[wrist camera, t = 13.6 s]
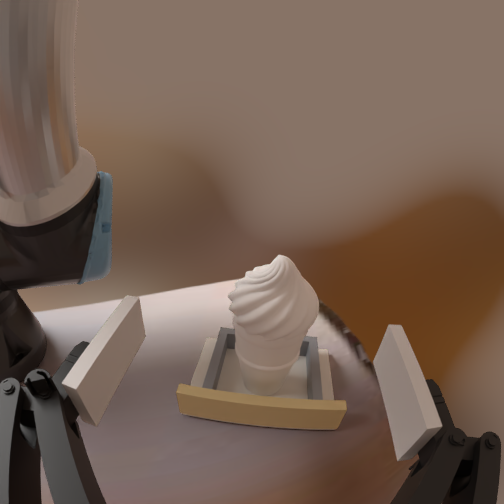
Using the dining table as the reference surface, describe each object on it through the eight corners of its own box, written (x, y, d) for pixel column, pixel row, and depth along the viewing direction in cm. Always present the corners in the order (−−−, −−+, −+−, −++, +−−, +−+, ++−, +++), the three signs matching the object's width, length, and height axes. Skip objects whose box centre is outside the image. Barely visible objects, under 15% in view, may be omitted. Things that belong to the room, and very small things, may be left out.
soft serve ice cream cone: (218, 362, 34) (220, 236, 27) (283, 352, 36) (302, 232, 30) (236, 417, 26) (245, 280, 20) (311, 400, 29) (348, 270, 22)
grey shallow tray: (207, 341, 38) (206, 316, 37) (326, 353, 37) (333, 328, 35) (180, 416, 27) (176, 392, 25) (335, 432, 25) (347, 409, 24)
